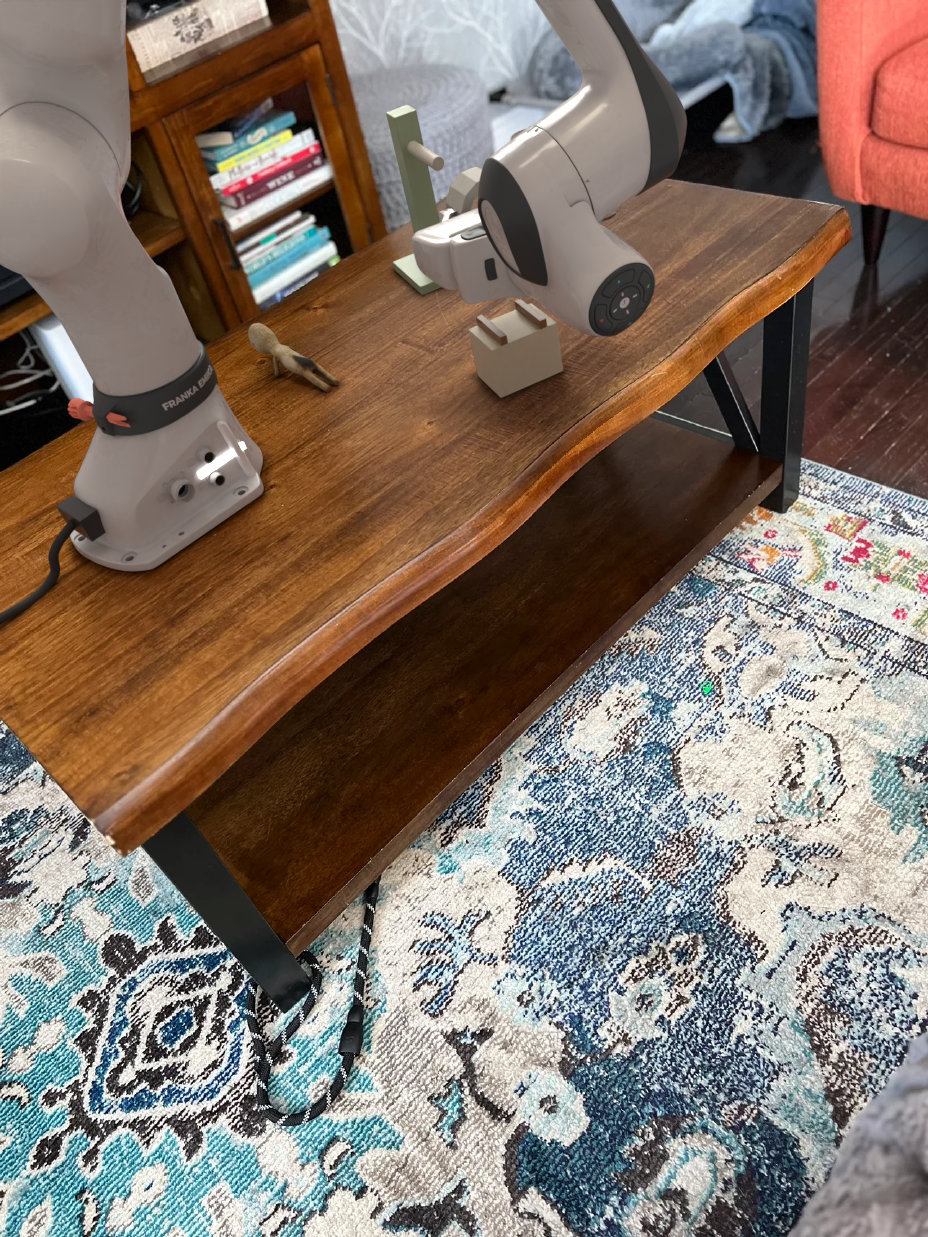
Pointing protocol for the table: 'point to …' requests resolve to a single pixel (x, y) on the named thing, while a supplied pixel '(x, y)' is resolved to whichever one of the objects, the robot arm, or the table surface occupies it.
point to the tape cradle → (516, 348)
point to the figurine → (288, 356)
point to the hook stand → (414, 186)
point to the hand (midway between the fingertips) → (478, 203)
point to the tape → (464, 190)
